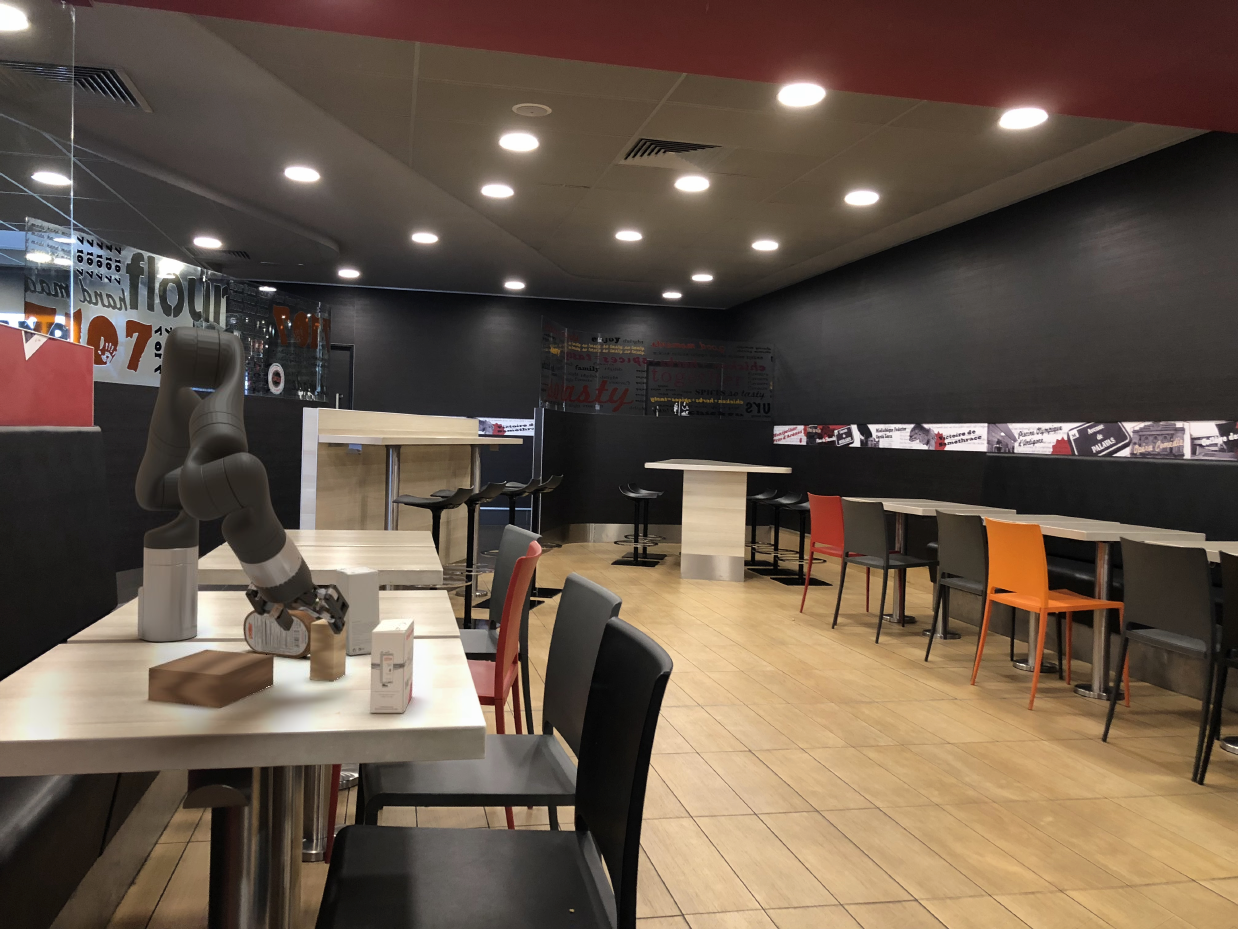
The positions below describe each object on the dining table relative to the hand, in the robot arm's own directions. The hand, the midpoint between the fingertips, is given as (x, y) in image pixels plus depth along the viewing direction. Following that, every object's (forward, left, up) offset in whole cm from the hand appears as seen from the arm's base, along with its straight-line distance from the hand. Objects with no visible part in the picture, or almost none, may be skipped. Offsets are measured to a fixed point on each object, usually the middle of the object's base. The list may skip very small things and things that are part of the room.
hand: (314, 627), depth 133 cm
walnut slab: (-12, -8, -9) cm, 17 cm away
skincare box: (-4, +22, -9) cm, 24 cm away
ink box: (+16, -7, -9) cm, 20 cm away
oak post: (0, +4, -9) cm, 10 cm away
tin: (-15, +15, -9) cm, 23 cm away
